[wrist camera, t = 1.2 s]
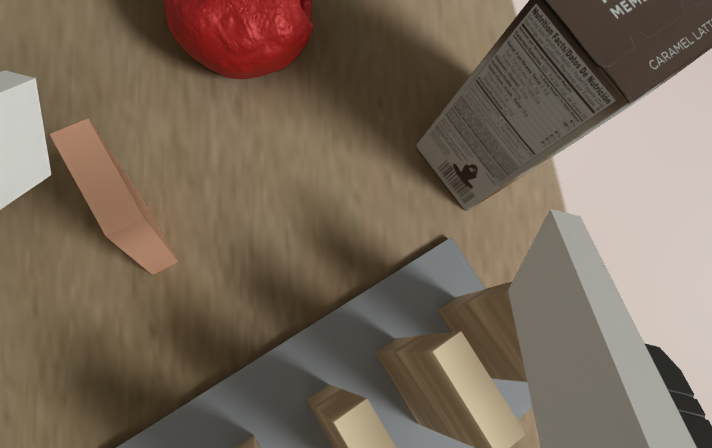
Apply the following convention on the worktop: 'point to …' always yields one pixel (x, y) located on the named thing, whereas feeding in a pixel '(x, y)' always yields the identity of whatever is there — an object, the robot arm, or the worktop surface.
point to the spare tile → (113, 196)
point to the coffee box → (558, 85)
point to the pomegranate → (241, 33)
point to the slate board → (333, 369)
